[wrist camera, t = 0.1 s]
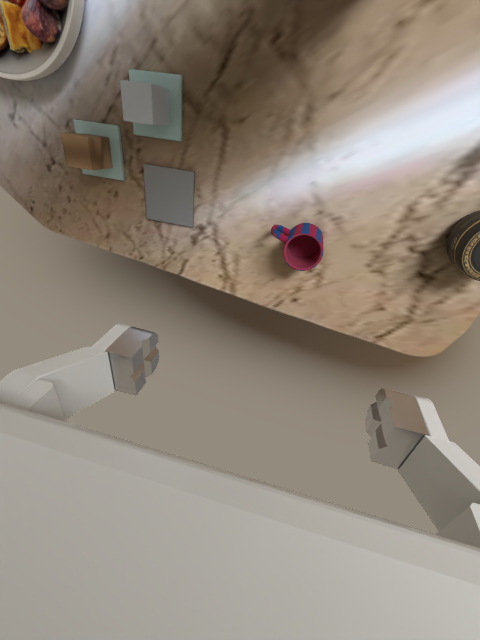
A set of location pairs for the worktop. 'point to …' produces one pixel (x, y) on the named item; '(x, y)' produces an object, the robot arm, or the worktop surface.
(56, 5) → the bowl
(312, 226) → the mug
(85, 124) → the code tile
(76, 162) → the walnut block
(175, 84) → the code tile
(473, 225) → the jar
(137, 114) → the blue-grey block
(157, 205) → the slate coaster
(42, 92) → the worktop surface
